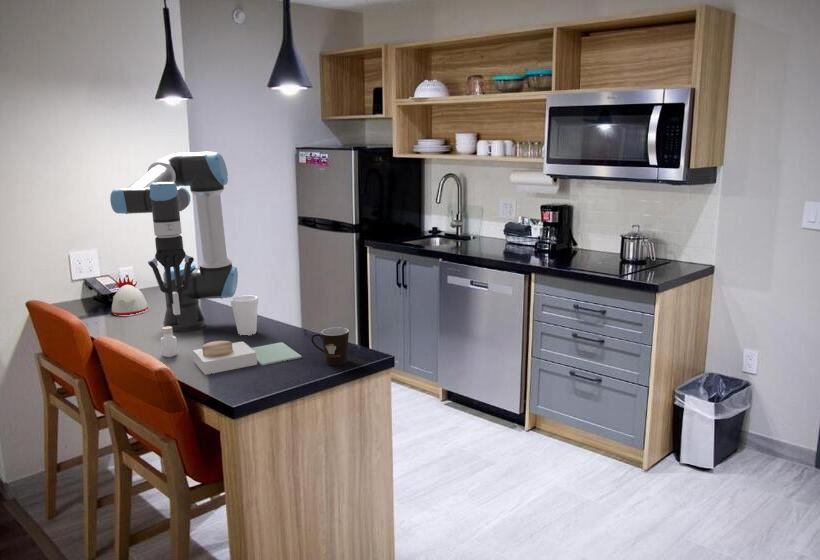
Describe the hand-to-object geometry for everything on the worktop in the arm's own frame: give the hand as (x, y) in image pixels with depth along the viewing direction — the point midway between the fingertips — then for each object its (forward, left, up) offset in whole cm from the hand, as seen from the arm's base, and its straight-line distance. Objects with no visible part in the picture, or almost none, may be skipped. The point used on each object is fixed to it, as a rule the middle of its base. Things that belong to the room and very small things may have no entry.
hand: (176, 313), depth 203 cm
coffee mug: (+18, +42, -19) cm, 49 cm away
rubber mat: (0, +29, -18) cm, 34 cm away
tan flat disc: (0, +11, -14) cm, 18 cm away
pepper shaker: (-19, 0, -19) cm, 27 cm away
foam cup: (-29, +29, -19) cm, 45 cm away
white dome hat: (-89, -2, -19) cm, 91 cm away
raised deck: (0, +13, -18) cm, 22 cm away
